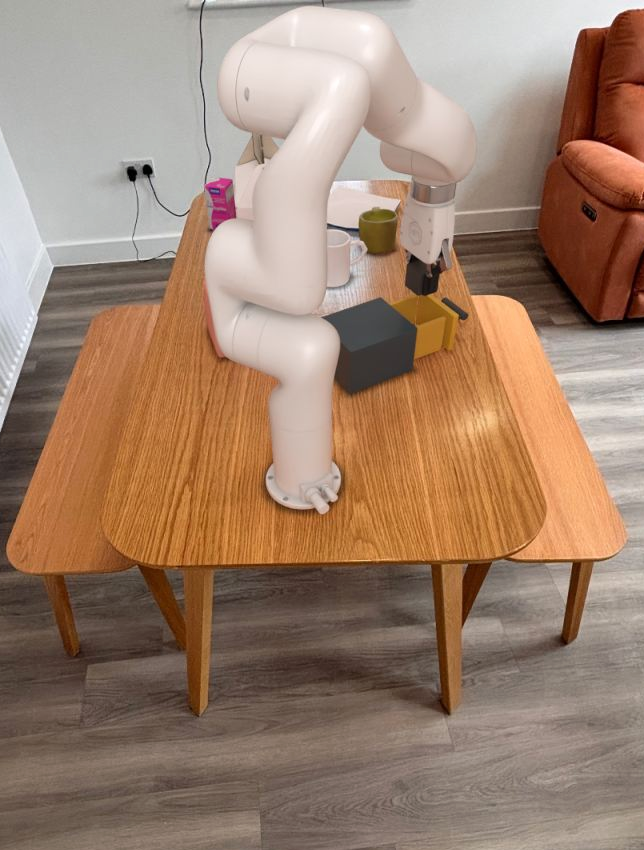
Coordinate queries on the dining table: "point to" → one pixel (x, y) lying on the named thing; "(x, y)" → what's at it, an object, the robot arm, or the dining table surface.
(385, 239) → the mug
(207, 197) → the supplement box
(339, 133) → the robot arm
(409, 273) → the block
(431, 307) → the yellow drawer
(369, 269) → the dining table surface
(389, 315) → the cabinet
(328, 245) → the mug
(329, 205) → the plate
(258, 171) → the paper bag
